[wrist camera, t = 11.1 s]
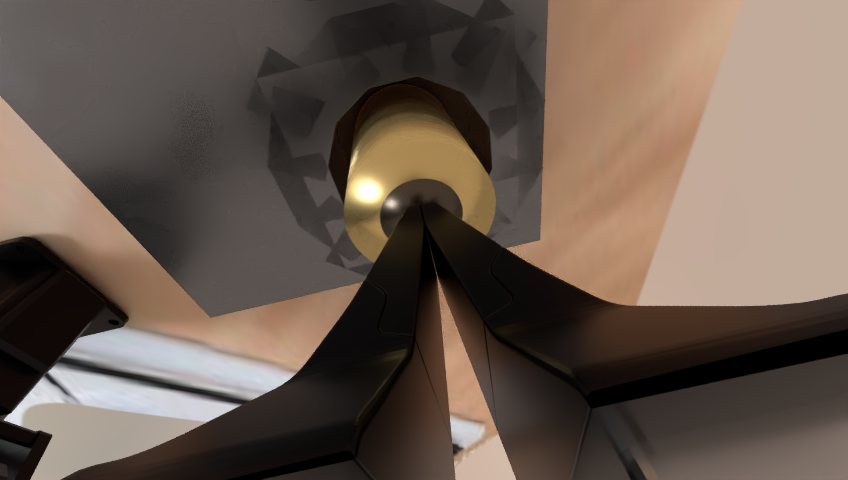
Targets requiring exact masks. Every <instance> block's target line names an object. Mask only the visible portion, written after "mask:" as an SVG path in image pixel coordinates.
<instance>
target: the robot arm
mask: <svg viewBox="0 0 848 480" xmlns="http://www.w3.org/2000/svg"><path fill="white" fill-rule="evenodd" d="M422 214H423V215H422ZM423 218H424V219H423ZM427 235H428V236H427ZM428 239H429V240H428ZM431 252H432V253H431ZM432 256H433V257H432ZM435 269H436V270H435ZM436 273H437V275H436ZM437 276H438V279H439V282H440V285H441V288H442V290H443V293H444V295H445V298H446V300H447V303H448V305H449V308H450V311H451V313H452V316H453V318H454V321H455V323H456V326H457V328H458V331H459V334H460V336H461V339H462V341H463V344H464V346H465V349H466V352H467V354H468V357H469V359H470V362H471V364H472V367H473V369H474V372H475V375H476V377H477V380H478V382H479V385H480V387H481V390H482V393H483V395H484V398H485V400H486V403H487V405H488V408H489V410H490V413H491V416H492V418H493V421H494V423H495V426H496V428H497V431H498V433H499V436H500V439H501V441H502V444H503V446H504V449H505V452H506V454H507V456H508V459H509V462H510V464H511V467H512V470H513V472H514V475H515V477H516V480H848V294H842V295H837V296H833V297H828V298H824V299H820V300H815V301H809V302H803V303H793V304H783V305H767V306H627V305H620V304H615V303H611V302H608V301H605V300H602V299H600V298H598V297H595V296H593V295H591V294H589V293H587V292H585V291H583V290H581V289H579V288H577V287H575V286H573V285H571V284H569V283H567V282H565V281H563V280H561V279H559V278H557V277H555V276H553V275H551V274H549V273H547V272H545V271H543V270H541V269H540V268H538V267H536V266H534V265H532V264H530V263H528V262H527V261H525V260H523V259H522V258H520V257H518V256H517V255H515V254H513V253H512V252H510V251H509V250H507V249H506V248H504V247H502V246H501V245H500V244H498V243H497V242H495V241H494V240H492V239H490V238H489V237H487V236H486V235H484V234H483V233H481V232H480V231H478V230H477V229H475V228H474V227H472V226H471V225H469V224H468V223H466V222H465V221H463V220H462V219H460V218H459V217H457V216H456V215H454V214H453V213H451V212H450V211H448V210H447V209H445V208H444V207H442V206H441V205H439V204H437V203H436V202H430V203H425V204H422V205H421V207H420V206H419V205H417V206H413V207H409V208H406V209H405V211H404V213H403V215H402V216H401V218H400V220H399V221H398V223H397V225H396V227H395V228H394V230H393V232H392V233H391V235H390V237H389V239H388V240H387V242H386V244H385V246H384V247H383V249H382V251H381V252H380V254H379V256H378V258H377V259H376V261H375V263H374V264H373V266H372V268H371V270H370V271H369V273H368V275H367V277H366V279H365V280H364V282H363V283H362V285H361V287H360V288H359V290H358V292H357V293H356V295H355V296H354V298H353V300H352V301H351V303H350V304H349V306H348V307H347V309H346V310H345V311H344V313H343V314H342V316H341V317H340V318H339V320H338V321H337V322H336V324H335V325H334V326H333V328H332V329H331V330H330V332H329V333H328V334H327V336H326V337H325V338H324V340H323V341H322V342H321V344H320V345H319V346H318V348H317V349H316V350H315V352H314V353H313V354H312V356H311V357H310V358H309V360H308V361H307V362H306V363H305V365H304V366H303V367H302V368H301V369H300V370H299V371H298V372H297V373H296V374H295V375H294V376H293V377H292V378H291V379H290V380H288V381H287V382H285V383H284V384H283V385H281V386H279V387H277V388H276V389H274V390H272V391H270V392H268V393H266V394H264V395H261V396H259V397H257V398H255V399H253V400H251V401H249V402H247V403H245V404H243V405H241V406H239V407H237V408H235V409H233V410H231V411H229V412H227V413H225V414H223V415H221V416H219V417H217V418H215V419H213V420H211V421H209V422H207V423H205V424H203V425H201V426H199V427H197V428H195V429H193V430H191V431H189V432H187V433H185V434H183V435H180V436H178V437H176V438H174V439H172V440H170V441H167V442H165V443H163V444H160V445H158V446H156V447H153V448H151V449H149V450H146V451H143V452H141V453H138V454H135V455H132V456H129V457H126V458H122V459H119V460H115V461H111V462H106V463H102V464H97V465H94V466H91V467H87V468H85V469H81V470H78V471H76V472H74V473H73V474H71V475H69V476H67V477H65V478H63V479H61V480H455V470H454V458H453V447H452V437H451V426H450V414H449V403H448V392H447V381H446V370H445V359H444V347H443V336H442V325H441V314H440V303H439V292H438V281H437ZM127 321H128V316H127V315H126V314H125V313H123V312H122V311H121V310H120V309H119V308H118V307H116V306H115V305H114V304H113V303H112V302H110V301H109V300H108V299H107V298H106V297H104V296H103V295H102V294H101V293H100V292H98V291H97V290H96V289H95V288H94V287H93V286H91V285H90V284H89V283H88V282H87V281H85V280H84V279H83V278H82V277H81V276H79V275H78V274H77V273H76V272H75V271H74V270H72V269H71V268H70V267H69V266H68V265H66V264H65V263H64V262H63V261H62V260H60V259H59V258H58V257H57V256H56V255H54V254H53V253H52V252H51V251H50V250H49V249H47V248H46V247H45V246H44V245H43V244H41V243H40V242H39V241H37V240H35V239H33V238H30V237H18V238H14V239H10V240H6V241H1V242H0V480H30V479H31V477H32V475H33V473H34V471H35V469H36V467H37V465H38V463H39V461H40V459H41V457H42V456H43V454H44V452H45V450H46V447H47V446H48V444H49V442H50V440H51V438H52V434H49V433H46V432H43V431H36V432H35V431H32V430H29V429H27V428H24V427H21V426H18V425H15V424H12V423H10V422H7V421H4V419H5V418H6V416H7V415H8V414H10V413H12V411H13V410H14V409H15V408H16V407H17V406H18V405H19V404H20V402H21V401H22V400H23V399H24V398H25V397H26V396H27V394H28V393H29V392H30V391H31V390H32V389H33V388H34V386H35V385H36V384H37V383H38V382H39V381H40V380H41V378H42V377H43V376H44V375H45V374H46V373H47V372H48V371H49V370H50V369H52V368H53V366H54V365H55V364H56V363H57V362H58V361H59V360H60V358H61V357H62V356H63V355H64V354H65V353H66V352H67V350H68V349H69V348H70V347H71V346H72V345H73V344H74V342H75V341H76V340H77V339H78V338H79V337H83V336H87V335H91V334H96V333H100V332H104V331H108V330H113V329H117V328H121V327H123V326H124V325H125V323H126V322H127Z"/></svg>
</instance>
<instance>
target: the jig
mask: <svg viewBox="0 0 848 480" xmlns="http://www.w3.org/2000/svg"><path fill="white" fill-rule="evenodd" d="M547 11H548V0H0V96H1V97H2V98H3V99H4V100H5V101H6V102H7V103H8V104H9V105H10V106H11V108H12V109H13V110H14V111H15V112H16V113H17V114H18V115H19V116H20V117H21V118H22V119H23V120H24V121H25V122H26V123H27V124H28V125H29V127H30V128H31V129H32V130H33V131H34V132H35V133H36V134H37V135H38V136H39V137H40V138H41V139H42V140H43V141H44V142H45V143H46V144H47V146H48V147H49V148H50V149H51V150H52V151H53V152H54V153H55V154H56V155H57V156H58V157H59V158H60V159H61V160H62V161H63V162H64V164H65V165H66V166H67V167H68V168H69V169H70V170H71V171H72V172H73V173H74V174H75V175H76V176H77V177H78V178H79V179H80V180H81V181H82V183H83V184H84V185H85V186H86V187H87V188H88V189H89V190H90V191H91V192H92V193H93V194H94V195H95V196H96V197H97V198H98V199H99V200H100V202H101V203H102V204H103V205H104V206H105V207H106V208H107V209H108V210H109V211H110V212H111V213H112V214H113V215H114V216H115V217H116V218H117V219H118V221H119V222H120V223H121V224H122V225H123V226H124V227H125V228H126V229H127V230H128V231H129V232H130V233H131V234H132V235H133V236H134V237H135V238H136V240H137V241H138V242H139V243H140V244H141V245H142V246H143V247H144V248H145V249H146V250H147V251H148V252H149V253H150V254H151V255H152V256H153V257H154V259H155V260H156V261H157V262H158V263H159V264H160V265H161V266H162V267H163V268H164V269H165V270H166V271H167V272H168V273H169V274H170V275H171V276H172V278H173V279H174V280H175V281H176V282H177V283H178V284H179V285H180V286H181V287H182V288H183V289H184V290H185V291H186V292H187V293H188V294H189V295H190V297H191V298H192V299H193V300H194V301H195V302H196V303H197V304H198V305H199V306H200V307H201V308H202V309H203V310H204V311H205V312H206V313H207V314H208V316H209V317H210V318H211V317H215V316H220V315H224V314H228V313H232V312H237V311H241V310H245V309H249V308H254V307H258V306H262V305H266V304H270V303H275V302H279V301H283V300H287V299H292V298H296V297H300V296H304V295H309V294H313V293H317V292H321V291H326V290H330V289H334V288H338V287H343V286H347V285H351V284H355V283H360V282H364V280H365V279H366V277H367V275H368V273H369V271H370V270H371V268H372V266H373V264H374V262H372V261H371V260H369V259H368V258H367V257H365V256H364V255H363V254H362V253H361V252H360V251H359V250H358V249H357V248H356V246H355V245H354V244H353V242H352V241H351V239H350V237H349V235H348V232H347V229H346V227H345V221H344V203H345V196H346V189H347V181H348V174H349V167H348V165H347V162H346V159H345V157H344V154H343V151H342V148H341V146H340V143H339V140H338V138H337V130H338V125H339V120H340V118H341V117H342V116H343V115H344V114H345V113H346V112H347V111H348V110H349V109H350V108H351V107H352V106H353V105H354V104H355V103H356V101H357V100H358V99H359V98H360V97H361V96H362V95H363V94H364V93H365V92H366V91H367V90H368V89H369V88H372V87H377V86H381V85H385V84H389V83H393V82H397V81H401V80H405V79H409V78H413V77H417V76H418V77H421V78H424V79H426V80H429V81H432V82H435V83H438V84H441V85H443V86H446V87H449V88H452V89H455V90H457V91H458V92H459V94H460V95H461V96H462V98H463V99H464V100H465V102H466V103H467V109H468V118H469V128H470V137H471V139H470V141H469V143H468V145H469V146H470V148H471V149H472V151H473V152H474V154H475V155H476V157H477V158H478V160H479V161H480V163H481V164H482V166H483V167H484V169H485V170H486V172H487V173H488V175H489V177H490V179H491V181H492V184H493V187H494V190H495V197H496V209H495V215H494V219H493V222H492V225H491V227H490V229H489V231H488V233H487V235H486V236H487V237H489V238H490V239H492V240H494V241H495V242H497V243H498V244H500V245H501V246H502V247H504V248H508V247H512V246H517V245H521V244H525V243H529V242H534V241H538V240H540V225H541V194H542V169H543V167H542V164H543V133H544V103H545V72H546V42H547Z"/></svg>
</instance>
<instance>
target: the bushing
mask: <svg viewBox="0 0 848 480" xmlns="http://www.w3.org/2000/svg"><path fill="white" fill-rule="evenodd" d="M430 202H436V203H437V204H439V205H441V206H442V207H444V208H445V209H447V210H448V211H450V212H451V213H453V214H454V215H456V216H457V217H459V218H460V219H462V220H463V221H465V222H466V223H468V224H469V225H471V226H472V227H474V228H475V229H477V230H478V231H480V232H481V233H483V234H484V235H487V233H488V231H489V229H490V227H491V225H492V222H493V219H494V215H495V209H496V197H495V190H494V187H493V184H492V181H491V179H490V177H489V175H488V173H487V172H486V170H485V169H484V167H483V166H482V164H481V163H480V161H479V160H478V158H477V157H476V155H475V154H474V152H473V151H472V149H471V148H470V146H469V145H468V143H467V142H466V140H465V139H464V137H463V136H462V135H461V133H460V132H459V130H458V129H457V127H456V126H455V124H454V123H453V121H452V120H451V118H450V117H449V115H448V114H447V112H446V111H445V109H444V108H443V106H442V105H441V103H440V102H439V101H438V100H437V99H436V98H435V97H434V96H433V95H432V94H431V93H429V92H428V91H426V90H424V89H422V88H420V87H417V86H413V85H406V84H398V85H392V86H388V87H385V88H383V89H381V90H379V91H377V92H376V93H374V94H373V95H372V96H371V97H370V98H369V99H368V100H367V101H366V102H365V103H364V105H363V106H362V108H361V109H360V111H359V114H358V116H357V120H356V124H355V131H354V138H353V146H352V153H351V160H350V167H349V174H348V181H347V189H346V196H345V203H344V221H345V227H346V229H347V232H348V235H349V237H350V239H351V241H352V242H353V244H354V245H355V246H356V248H357V249H358V250H359V251H360V252H361V253H362V254H363V255H364V256H365V257H367V258H368V259H369V260H371V261H372V262H374V263H375V261H376V259H377V258H378V256H379V254H380V252H381V251H382V249H383V247H384V246H385V244H386V242H387V240H388V239H389V237H390V235H391V233H392V232H393V230H394V228H395V227H396V225H397V223H398V221H399V220H400V218H401V216H402V215H403V213H404V211H405V209H406V208H409V207H413V206H417V205H419V206H420V207H421V205H422V204H425V203H430ZM422 215H423V214H422ZM423 219H424V218H423ZM427 236H428V235H427ZM428 240H429V239H428ZM431 253H432V252H431ZM432 257H433V256H432ZM435 270H436V269H435Z"/></svg>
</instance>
